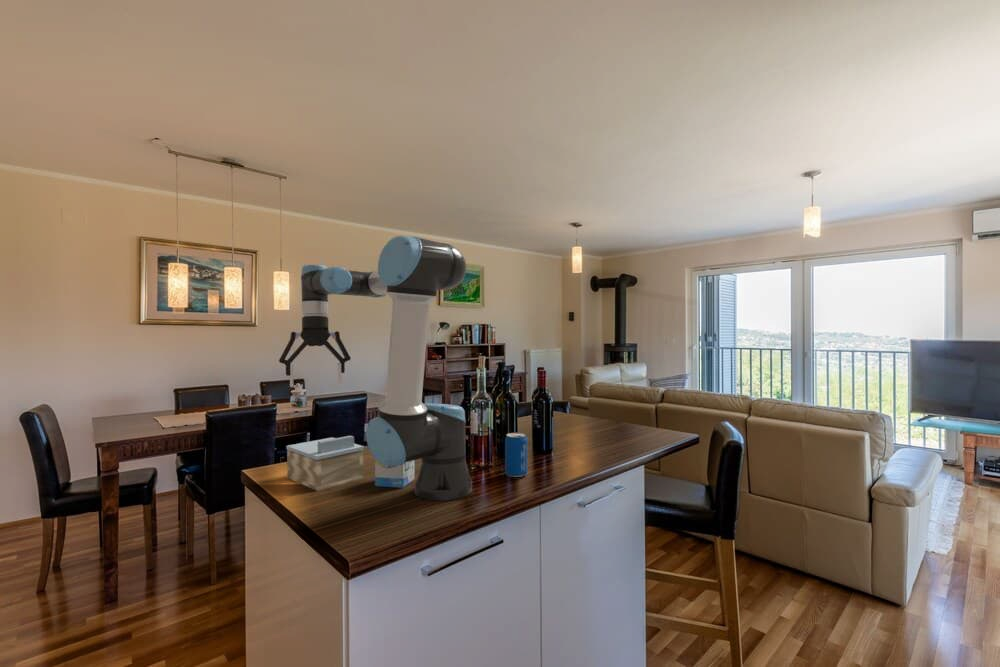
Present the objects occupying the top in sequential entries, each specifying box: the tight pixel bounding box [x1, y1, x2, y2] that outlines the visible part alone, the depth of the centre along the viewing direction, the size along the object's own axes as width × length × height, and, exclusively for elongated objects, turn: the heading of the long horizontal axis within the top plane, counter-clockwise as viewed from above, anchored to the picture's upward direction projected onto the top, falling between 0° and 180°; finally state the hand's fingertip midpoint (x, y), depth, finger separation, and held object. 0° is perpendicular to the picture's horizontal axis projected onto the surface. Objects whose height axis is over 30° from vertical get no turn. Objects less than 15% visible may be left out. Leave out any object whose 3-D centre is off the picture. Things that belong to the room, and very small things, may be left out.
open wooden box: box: [286, 449, 364, 492], centre depth 133 cm, size 18×14×8 cm
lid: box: [285, 435, 365, 460], centre depth 133 cm, size 18×14×4 cm
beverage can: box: [504, 432, 528, 477], centre depth 134 cm, size 6×6×12 cm
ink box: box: [374, 458, 415, 489], centre depth 129 cm, size 8×8×12 cm
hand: (316, 385), depth 140 cm, fingers open, 13 cm apart
